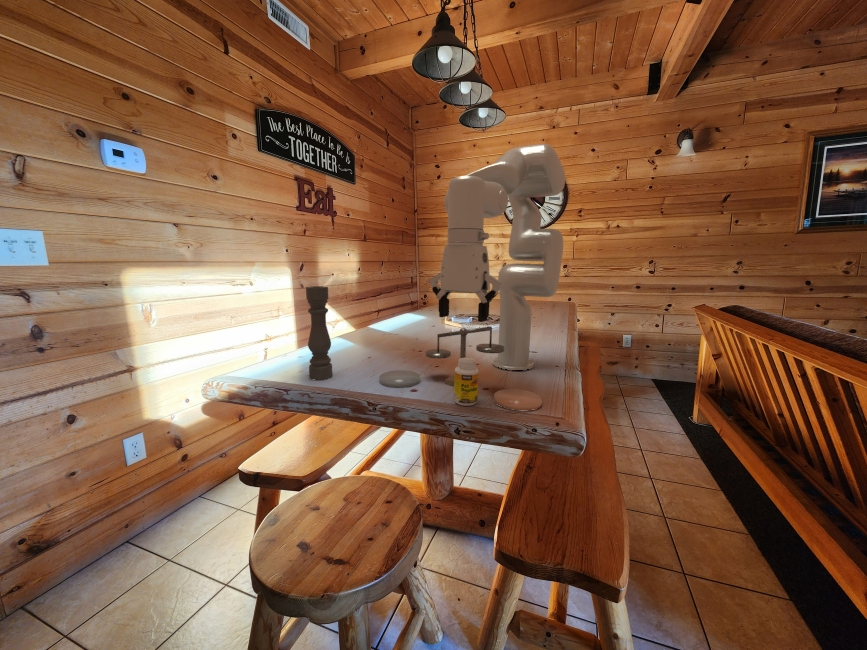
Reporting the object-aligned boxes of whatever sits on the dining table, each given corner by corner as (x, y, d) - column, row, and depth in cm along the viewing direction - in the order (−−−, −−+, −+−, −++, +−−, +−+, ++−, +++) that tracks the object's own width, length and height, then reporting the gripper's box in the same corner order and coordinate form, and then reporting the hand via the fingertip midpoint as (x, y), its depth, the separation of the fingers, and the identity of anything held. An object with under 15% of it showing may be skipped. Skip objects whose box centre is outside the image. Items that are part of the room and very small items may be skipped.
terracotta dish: (504, 390, 94) (504, 385, 94) (547, 399, 88) (548, 394, 88) (486, 404, 85) (486, 399, 85) (532, 415, 79) (533, 410, 79)
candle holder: (306, 380, 100) (301, 288, 95) (313, 373, 106) (308, 286, 101) (329, 380, 100) (325, 288, 95) (334, 373, 106) (331, 286, 101)
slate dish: (396, 372, 108) (396, 368, 107) (427, 379, 102) (427, 374, 102) (370, 382, 99) (370, 378, 98) (403, 390, 93) (403, 386, 92)
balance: (434, 372, 108) (434, 317, 105) (506, 387, 96) (509, 325, 93) (420, 378, 102) (420, 320, 99) (495, 396, 90) (498, 330, 87)
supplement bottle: (458, 407, 83) (459, 363, 81) (450, 398, 88) (451, 357, 86) (481, 405, 84) (483, 362, 82) (472, 396, 89) (473, 355, 87)
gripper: (510, 239, 76) (506, 320, 79) (440, 240, 86) (438, 313, 89) (495, 237, 70) (491, 325, 73) (421, 238, 80) (420, 316, 83)
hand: (462, 318), depth 81 cm, fingers open, 9 cm apart
